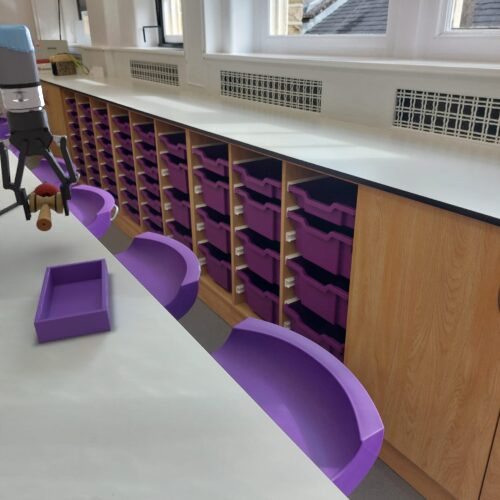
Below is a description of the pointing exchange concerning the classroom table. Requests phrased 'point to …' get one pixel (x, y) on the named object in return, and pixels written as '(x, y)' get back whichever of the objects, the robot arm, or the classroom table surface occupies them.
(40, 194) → the kendama
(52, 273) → the tote
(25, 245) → the classroom table surface
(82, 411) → the classroom table surface
